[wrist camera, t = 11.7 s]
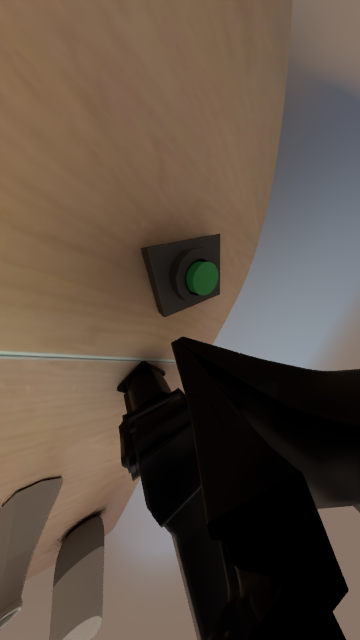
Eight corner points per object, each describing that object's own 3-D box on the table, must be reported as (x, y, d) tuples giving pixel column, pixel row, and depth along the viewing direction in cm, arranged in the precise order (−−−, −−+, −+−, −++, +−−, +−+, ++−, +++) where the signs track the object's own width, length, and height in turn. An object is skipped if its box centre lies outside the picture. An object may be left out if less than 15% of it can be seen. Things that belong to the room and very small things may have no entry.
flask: (53, 498, 24) (33, 610, 17) (-8, 523, 20) (-75, 693, 12) (69, 470, 24) (56, 574, 16) (10, 489, 19) (-49, 646, 11)
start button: (208, 258, 17) (218, 258, 15) (209, 287, 19) (218, 290, 18) (183, 265, 15) (191, 266, 14) (187, 296, 17) (194, 299, 16)
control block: (209, 235, 20) (230, 231, 16) (211, 291, 24) (228, 296, 21) (140, 248, 16) (151, 246, 12) (158, 312, 20) (169, 322, 17)
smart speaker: (85, 512, 32) (79, 645, 21) (111, 507, 37) (116, 609, 26) (47, 549, 30) (18, 718, 19) (80, 538, 35) (72, 663, 24)
